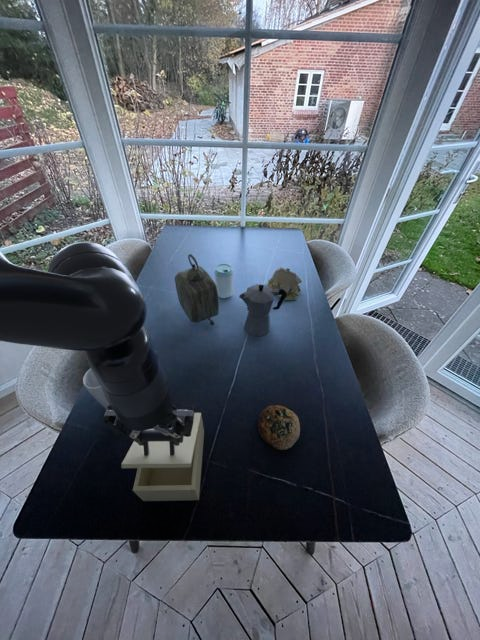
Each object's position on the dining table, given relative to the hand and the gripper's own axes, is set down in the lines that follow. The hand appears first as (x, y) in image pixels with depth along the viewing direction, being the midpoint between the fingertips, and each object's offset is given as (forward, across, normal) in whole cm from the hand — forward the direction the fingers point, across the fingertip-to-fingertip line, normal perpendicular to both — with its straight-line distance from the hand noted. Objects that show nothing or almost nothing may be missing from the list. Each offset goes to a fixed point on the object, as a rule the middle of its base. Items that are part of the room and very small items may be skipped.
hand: (160, 439), depth 47 cm
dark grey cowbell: (+17, +1, +49) cm, 52 cm away
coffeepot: (+17, +22, +45) cm, 53 cm away
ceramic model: (+16, +33, +66) cm, 75 cm away
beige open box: (+18, 0, +2) cm, 18 cm away
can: (+17, +9, +63) cm, 66 cm away
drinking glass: (+18, -17, +15) cm, 29 cm away
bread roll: (+17, +25, +10) cm, 32 cm away
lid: (+5, 0, +2) cm, 5 cm away
